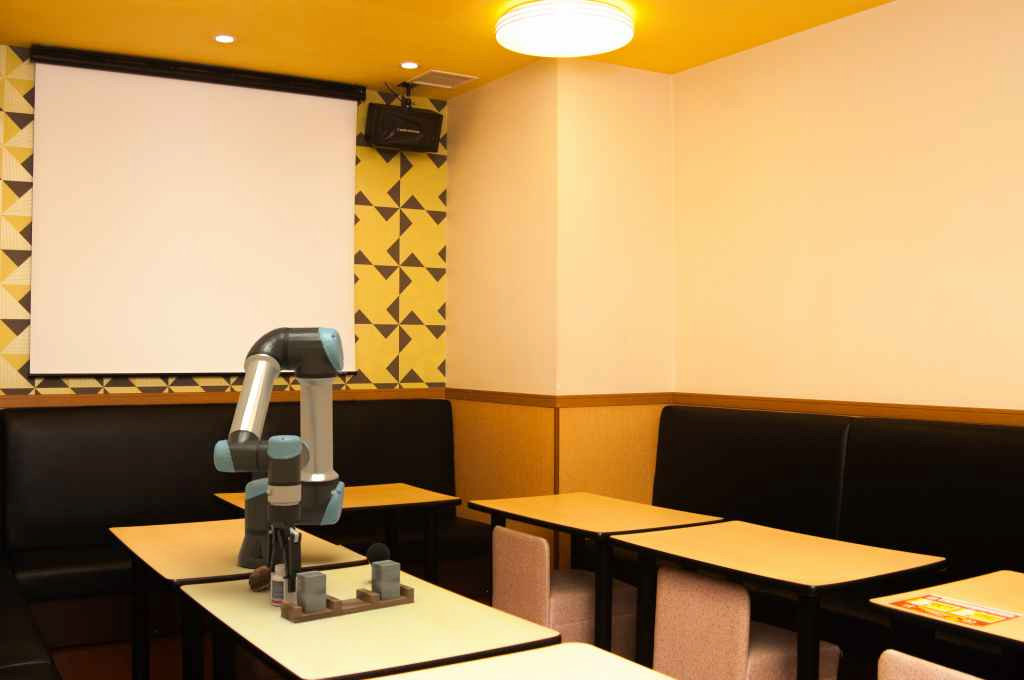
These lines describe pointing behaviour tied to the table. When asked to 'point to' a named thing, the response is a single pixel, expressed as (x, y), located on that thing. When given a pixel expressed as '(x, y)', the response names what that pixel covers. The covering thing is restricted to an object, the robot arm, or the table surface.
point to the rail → (321, 605)
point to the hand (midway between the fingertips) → (283, 602)
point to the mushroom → (260, 578)
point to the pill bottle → (278, 585)
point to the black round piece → (378, 553)
